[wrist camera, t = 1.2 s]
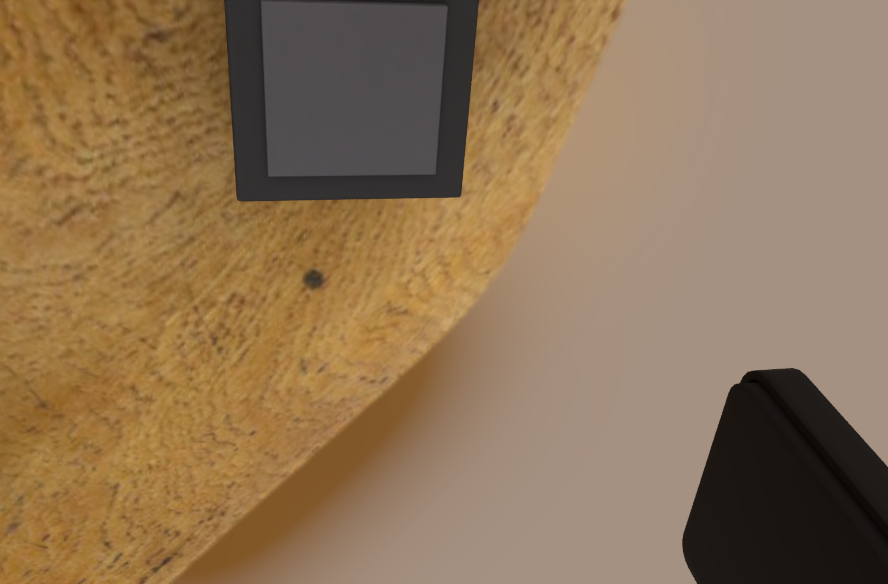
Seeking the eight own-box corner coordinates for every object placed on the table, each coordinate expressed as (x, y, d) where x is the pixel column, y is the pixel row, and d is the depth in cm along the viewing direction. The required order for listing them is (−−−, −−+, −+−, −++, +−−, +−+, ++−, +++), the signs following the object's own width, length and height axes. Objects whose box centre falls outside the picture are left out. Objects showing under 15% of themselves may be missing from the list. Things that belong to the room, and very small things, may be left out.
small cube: (443, -67, 22) (484, -29, 18) (430, 132, 25) (463, 202, 21) (226, -77, 21) (221, -38, 17) (239, 132, 24) (236, 206, 20)
